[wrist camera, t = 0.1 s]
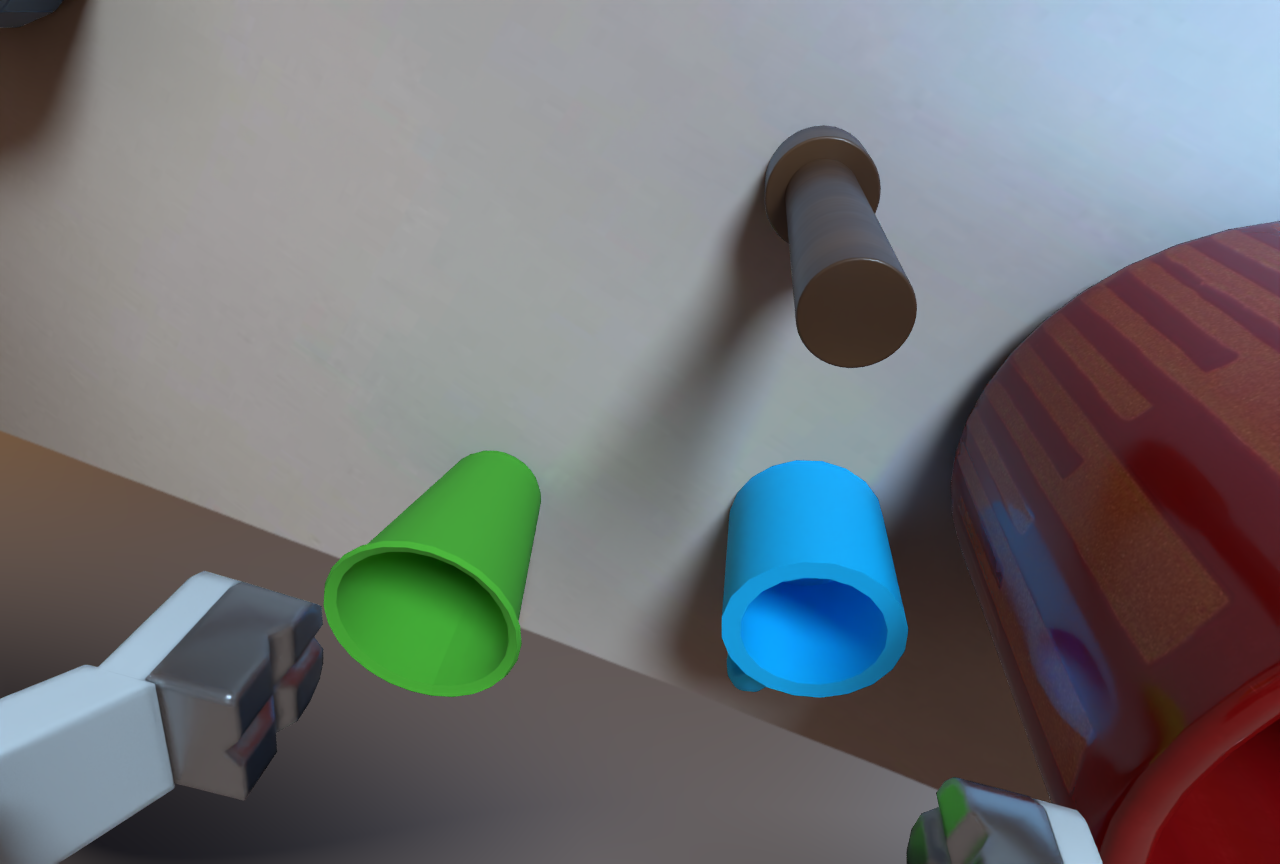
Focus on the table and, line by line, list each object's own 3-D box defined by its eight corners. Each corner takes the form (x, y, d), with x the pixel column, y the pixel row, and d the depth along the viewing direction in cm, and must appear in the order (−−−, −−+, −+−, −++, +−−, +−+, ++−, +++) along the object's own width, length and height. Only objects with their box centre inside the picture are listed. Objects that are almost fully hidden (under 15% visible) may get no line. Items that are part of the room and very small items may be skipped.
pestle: (755, 142, 31) (744, 249, 17) (863, 111, 30) (943, 200, 16) (776, 243, 33) (781, 411, 19) (878, 218, 32) (961, 378, 18)
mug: (775, 435, 38) (776, 532, 31) (915, 501, 38) (947, 611, 31) (674, 589, 44) (656, 700, 37) (796, 644, 45) (802, 763, 38)
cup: (573, 424, 39) (512, 557, 30) (577, 558, 44) (525, 710, 34) (411, 409, 40) (302, 533, 31) (431, 541, 45) (341, 684, 35)
